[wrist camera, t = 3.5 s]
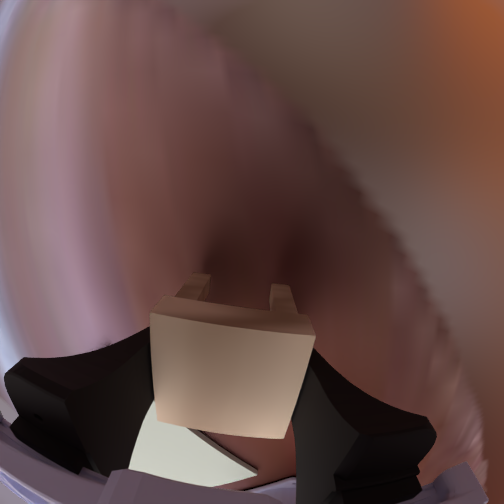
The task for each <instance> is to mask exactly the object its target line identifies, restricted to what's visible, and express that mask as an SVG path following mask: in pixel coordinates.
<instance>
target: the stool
mask: <svg viewBox="0 0 504 504" xmlns="http://www.w3.org/2000/svg"><path fill="white" fill-rule="evenodd" d="M210 280H211V275H210V274H203V273H196V272H194V273H193V274H192V275H191V276H190V278H189V279H188V280H187V282H186V283H185V284H184V285H183V287H182V288H181V289H180V291H179V292H178V293H177V294H176V296H175V297H173V296H167V295H164V296H163V297H162V299H161V300H160V301H159V302H158V303H157V304H156V306H155V307H154V308H153V309H152V310H151V311H150V343H151V361H152V375H153V387H154V397H155V406H156V414H157V421H160V422H164V423H168V424H173V425H177V426H182V427H186V428H192V429H197V430H202V431H208V432H215V433H221V434H229V435H237V436H246V437H257V438H272V439H284V436H285V433H286V431H287V428H288V425H289V422H290V419H291V416H292V414H293V411H294V408H295V405H296V402H297V399H298V395H299V392H300V389H301V386H302V383H303V380H304V376H305V373H306V370H307V366H308V363H309V359H310V356H311V352H312V349H313V345H314V341H315V338H316V335H315V332H314V329H313V327H312V324H311V322H310V319H309V316H308V315H304V314H298V312H297V308H296V305H295V302H294V299H293V296H292V292H291V289H290V286H289V285H284V284H276V283H272V284H271V290H270V296H269V304H270V311H268V310H260V309H252V308H244V307H237V306H230V305H223V304H216V303H210V302H204V301H205V299H206V297H207V295H208V293H209V291H210Z"/></svg>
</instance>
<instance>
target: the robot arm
mask: <svg viewBox="0 0 504 504" xmlns="http://www.w3.org/2000/svg"><path fill="white" fill-rule="evenodd" d="M4 382H5V387H6V389H7V392H8V394H9V396H10V398H11V400H12V403H13V405H14V407H15V409H16V411H17V412H18V414H19V416H18V417H17V419H16V420H15V421H14V422H13V423H12V424H11V423H9V422H7V421H6V420H5V419H4V418H3V415H2V413H1V411H0V481H1V482H2V483H3V484H4V485H5V486H6V487H7V488H9V489H10V490H11V491H12V492H14V493H15V494H16V495H18V496H19V497H20V498H21V499H22V500H24V501H25V502H26V503H28V504H486V503H487V502H488V498H487V496H486V494H485V492H484V490H483V489H482V487H481V485H480V483H479V482H478V480H477V478H476V476H475V475H474V473H473V471H472V470H471V468H470V466H469V465H468V463H467V462H463V463H461V464H459V465H456V466H454V467H452V468H449V469H447V470H445V471H444V472H442V473H441V474H440V475H439V476H438V477H437V478H436V479H435V480H434V481H433V483H430V484H427V485H424V486H422V487H421V485H420V483H419V481H418V479H417V476H416V475H418V474H419V473H420V470H419V468H418V466H417V465H418V464H419V463H420V461H421V460H422V459H423V458H424V457H425V455H426V454H427V453H428V452H429V451H430V449H431V448H432V446H433V445H434V443H435V440H436V437H437V436H436V431H435V430H434V428H433V427H432V425H431V423H430V422H429V420H428V419H427V417H425V416H421V415H417V414H413V413H410V412H406V411H403V410H400V409H398V408H395V407H393V406H390V405H388V404H386V403H383V402H381V401H379V400H377V399H376V398H374V397H372V396H370V395H368V394H367V393H365V392H363V391H362V390H360V389H359V388H357V387H356V386H354V385H353V384H352V383H350V382H349V381H348V380H347V379H345V378H344V377H343V376H342V375H341V374H339V373H338V372H337V371H336V370H335V369H334V368H333V367H332V366H331V365H330V364H329V363H328V362H327V361H326V360H325V359H324V358H323V357H322V356H321V355H320V354H319V353H318V352H317V351H316V350H315V349H314V348H313V349H312V352H311V356H310V359H309V363H308V366H307V370H306V373H305V376H304V380H303V383H302V386H301V389H300V392H299V395H298V399H297V402H296V405H295V408H294V411H293V414H292V416H291V420H292V426H293V431H294V437H295V447H296V478H295V477H291V478H287V479H285V480H282V481H278V482H275V483H272V484H269V485H265V486H262V487H258V488H255V489H251V490H247V491H238V490H228V489H220V488H213V487H207V486H201V485H195V484H190V483H185V482H180V481H176V480H171V479H167V478H163V477H159V476H156V475H152V474H149V473H145V472H140V471H135V470H130V469H128V468H129V465H130V461H131V457H132V454H133V450H134V447H135V444H136V441H137V438H138V435H139V432H140V429H141V426H142V423H143V421H144V419H145V416H146V414H147V412H148V410H149V408H150V406H151V405H152V403H153V401H154V399H155V397H154V387H153V375H152V361H151V343H150V326H149V327H147V328H146V329H144V330H142V331H140V332H138V333H136V334H134V335H132V336H130V337H128V338H126V339H124V340H121V341H119V342H117V343H115V344H112V345H110V346H107V347H104V348H102V349H98V350H95V351H92V352H88V353H83V354H78V355H73V356H67V357H57V358H27V357H23V358H22V359H21V360H20V361H19V362H18V363H16V364H15V365H14V366H13V367H12V368H11V369H10V370H8V371H7V372H6V373H5V376H4Z"/></svg>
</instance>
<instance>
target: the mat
mask: <svg viewBox="0 0 504 504" xmlns="http://www.w3.org/2000/svg"><path fill="white" fill-rule="evenodd" d="M128 469H130V470H135V471H140V472H145V473H149V474H152V475H156V476H159V477H163V478H167V479H171V480H176V481H180V482H185V483H190V484H195V485H201V486H207V487H213V486H218V485H222V484H226V483H231V482H234V481H238V480H242V479H246V478H249V477H252V476H256V475H257V470H256V469H255V468H253V467H251V466H250V465H248V464H246V463H245V462H243V461H242V460H240V459H238V458H237V457H235V456H234V455H232V454H231V453H229V452H228V451H226V450H225V449H223V448H222V447H220V446H219V445H217V444H216V443H215V442H213V441H212V440H210V439H209V438H208V437H206V436H205V435H204V434H202V433H201V432H200V431H198V430H197V429H192V428H186V427H182V426H177V425H173V424H168V423H164V422H160V421H157V414H156V406H155V399H154V401H153V403H152V405H151V406H150V408H149V410H148V412H147V414H146V416H145V419H144V421H143V423H142V426H141V429H140V432H139V435H138V438H137V441H136V444H135V447H134V450H133V454H132V457H131V461H130V465H129V468H128Z"/></svg>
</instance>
